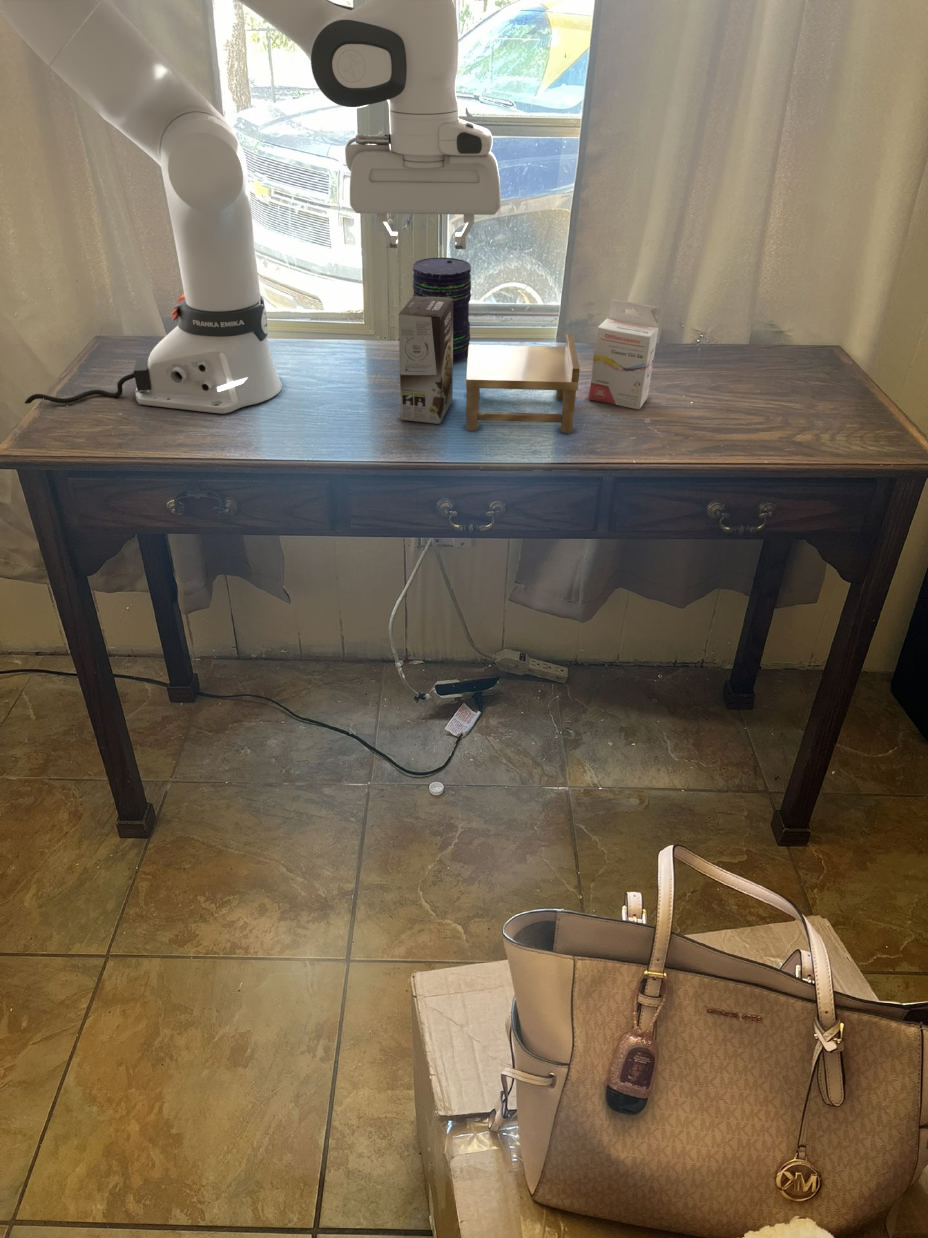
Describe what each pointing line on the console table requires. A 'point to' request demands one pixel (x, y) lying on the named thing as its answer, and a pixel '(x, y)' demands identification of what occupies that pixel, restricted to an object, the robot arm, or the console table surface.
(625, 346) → the ink cartridge box
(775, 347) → the console table surface
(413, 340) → the coffee box
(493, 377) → the miniature wooden bench
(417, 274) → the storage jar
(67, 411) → the console table surface
